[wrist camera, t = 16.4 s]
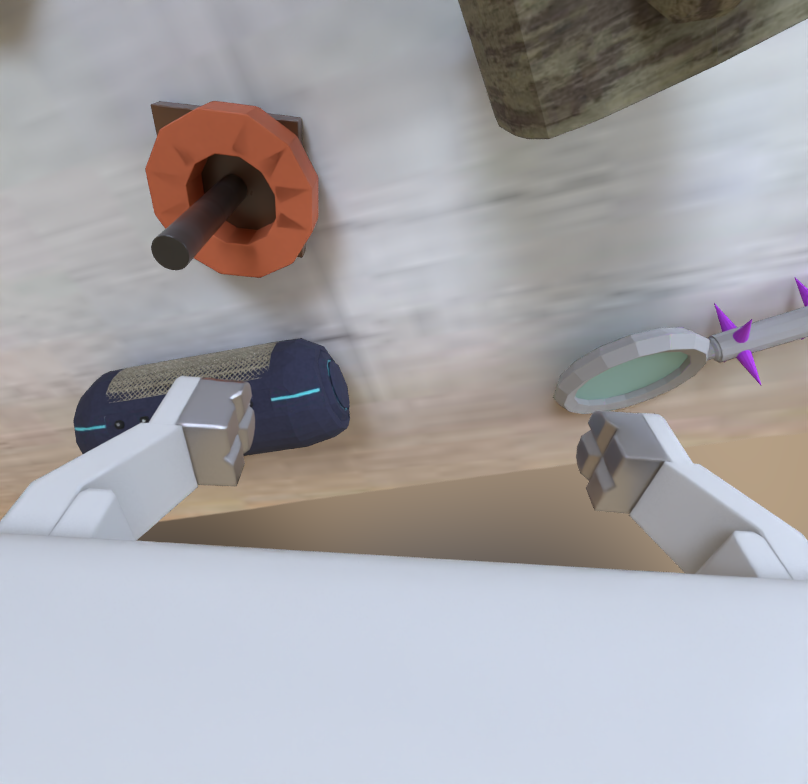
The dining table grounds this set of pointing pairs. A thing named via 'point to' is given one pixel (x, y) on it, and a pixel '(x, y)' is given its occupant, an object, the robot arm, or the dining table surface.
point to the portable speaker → (265, 372)
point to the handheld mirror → (669, 359)
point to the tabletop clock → (605, 52)
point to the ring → (263, 149)
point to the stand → (216, 197)
